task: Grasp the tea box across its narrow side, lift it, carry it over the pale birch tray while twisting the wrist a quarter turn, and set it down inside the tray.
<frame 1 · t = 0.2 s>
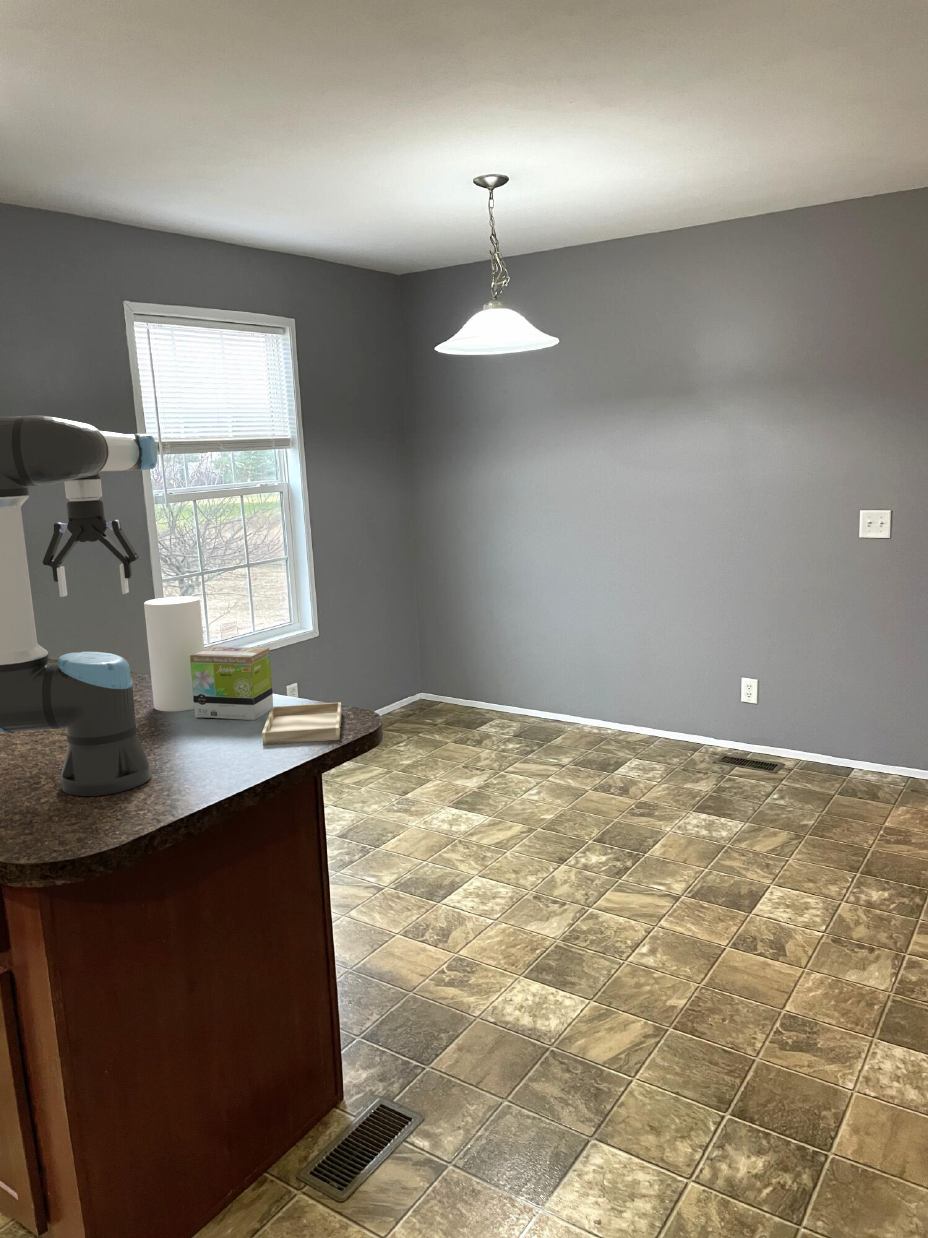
hand: (94, 594, 210), 28 cm above the countertop, fingers open, 13 cm apart
tray: (304, 728, 197), on the countertop
tea box: (235, 715, 211), on the countertop
cylinder: (181, 705, 221), on the countertop
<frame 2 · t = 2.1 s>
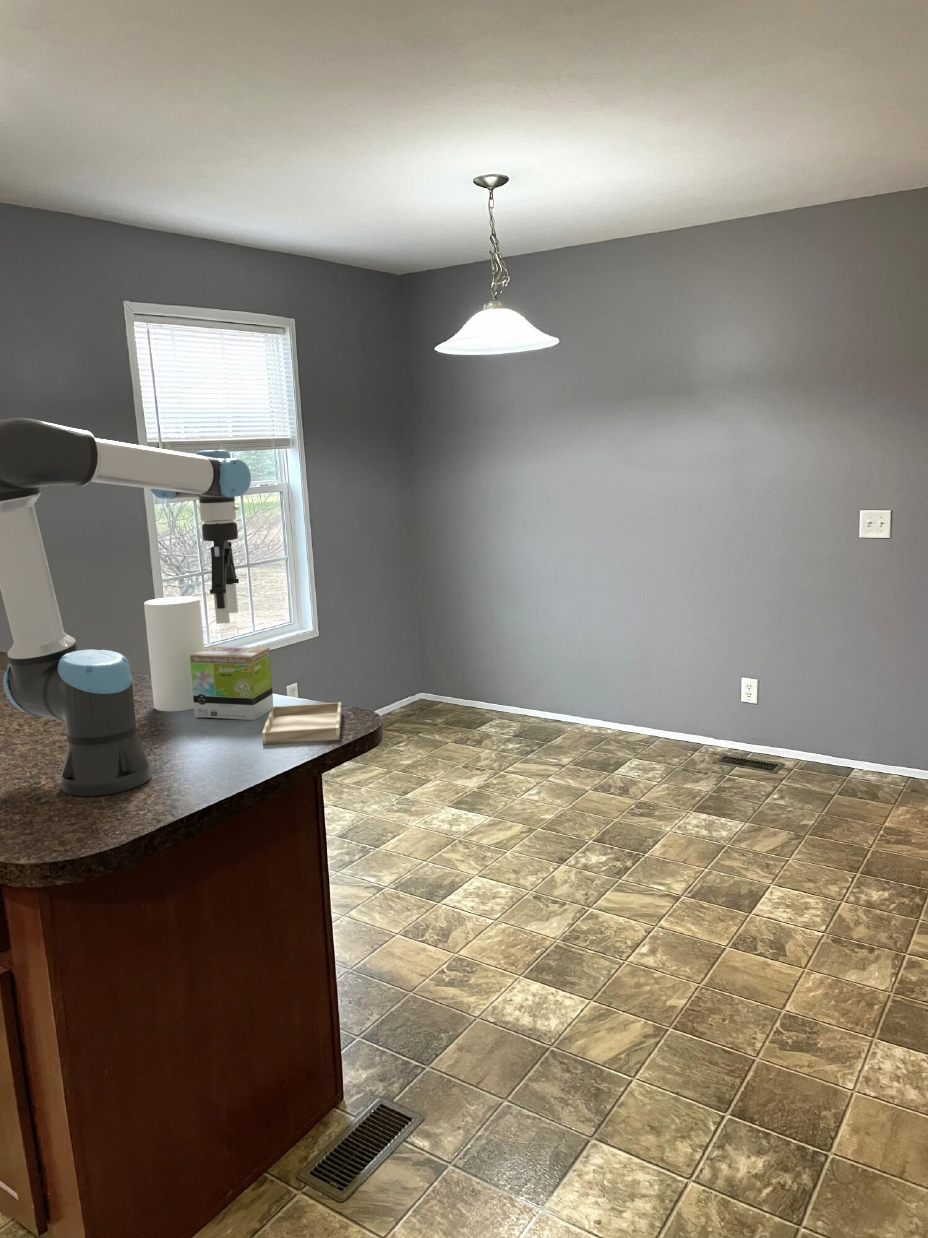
hand: (227, 617, 207), 22 cm above the countertop, fingers open, 13 cm apart
nothing on the countertop moved.
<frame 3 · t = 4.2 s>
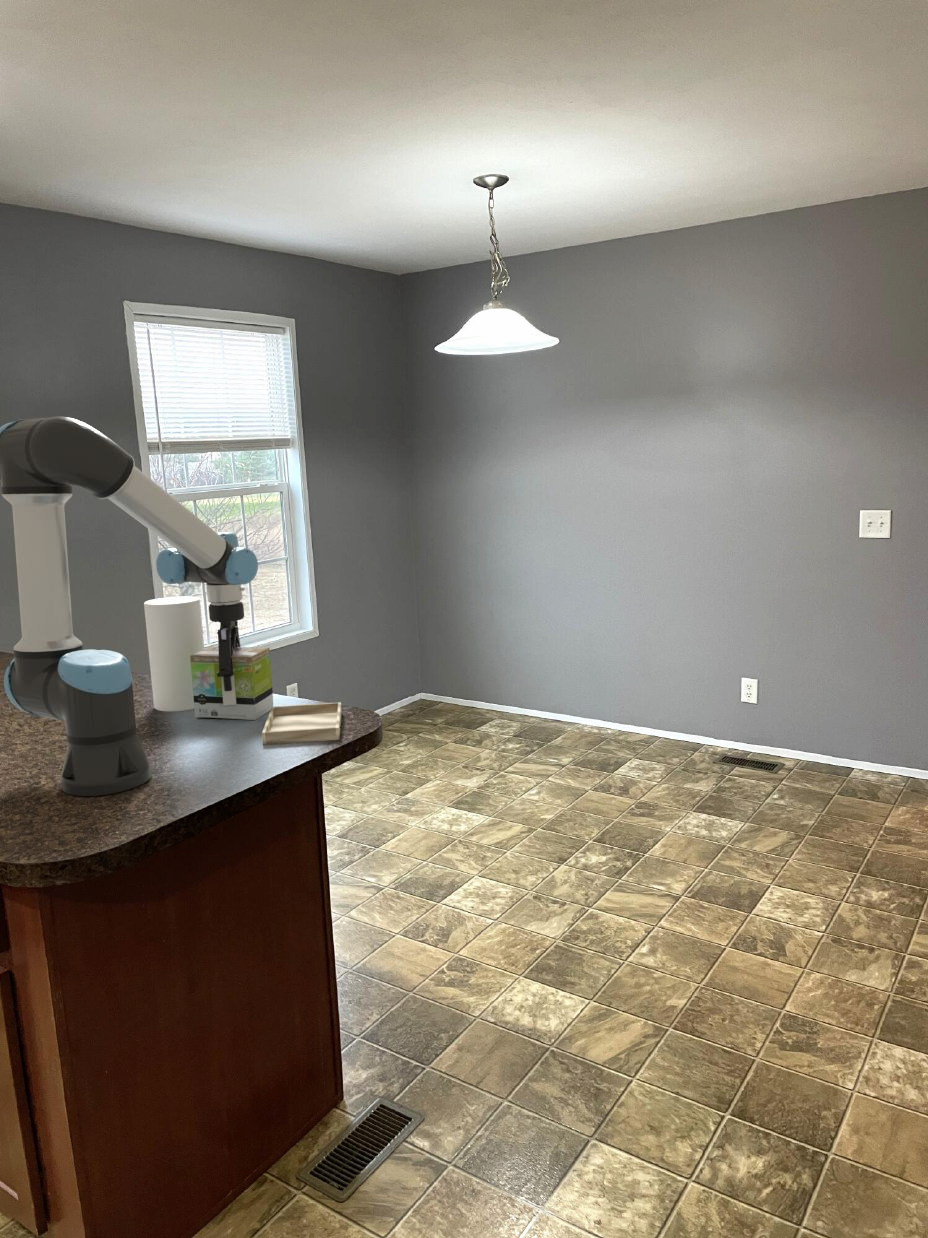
hand: (233, 697, 210), 4 cm above the countertop, fingers closed on tea box, 11 cm apart
tea box: (235, 714, 210), on the countertop, touching gripper
everything else where it was.
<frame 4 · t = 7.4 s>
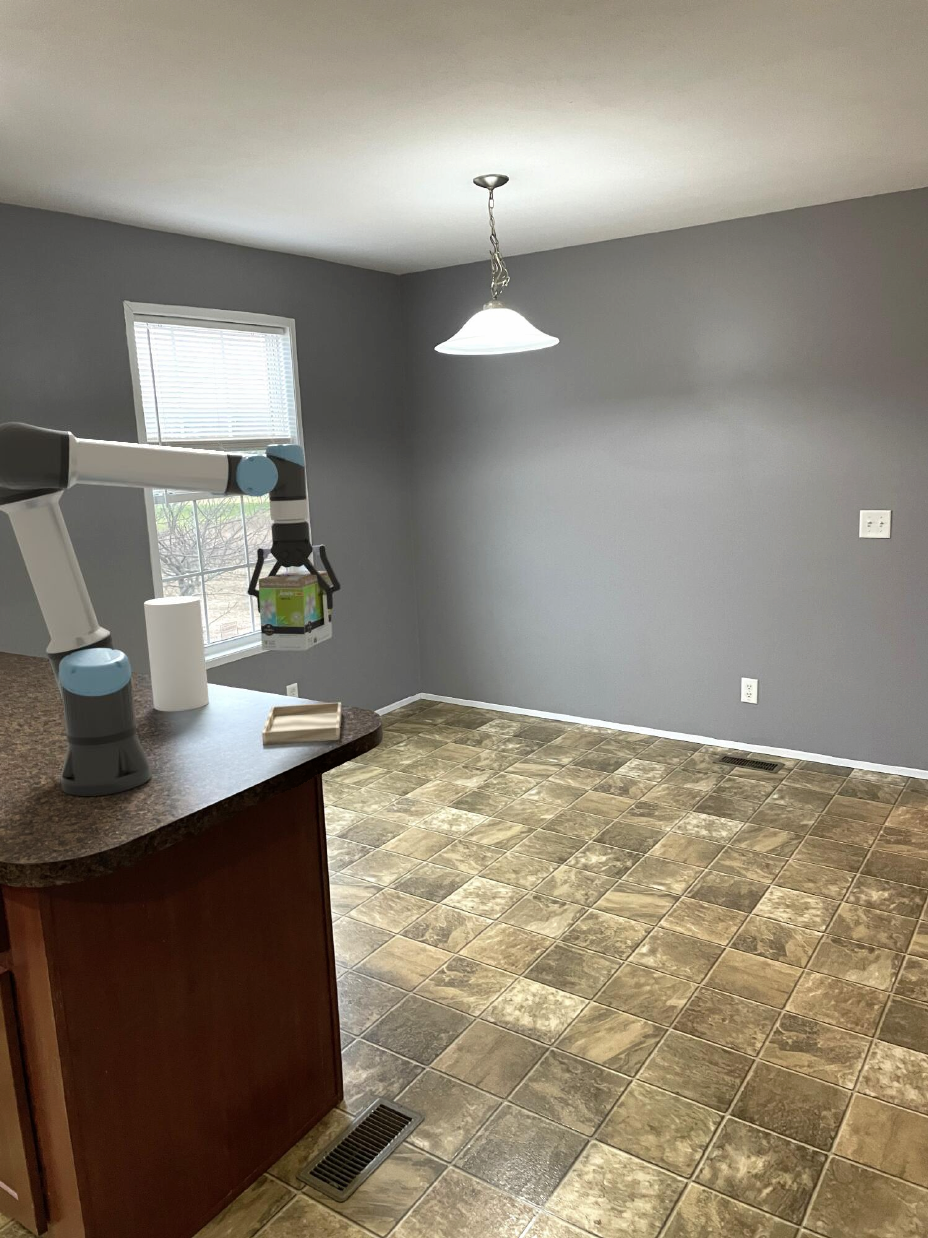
hand: (297, 626, 193), 22 cm above the countertop, fingers closed on tea box, 11 cm apart
tea box: (298, 645, 194), point 18 cm above the countertop, touching gripper
everything else where it was.
when the fingers open (6 cm above the countertop, at t = 10.8 s): tea box drops 2 cm, resting on tray.
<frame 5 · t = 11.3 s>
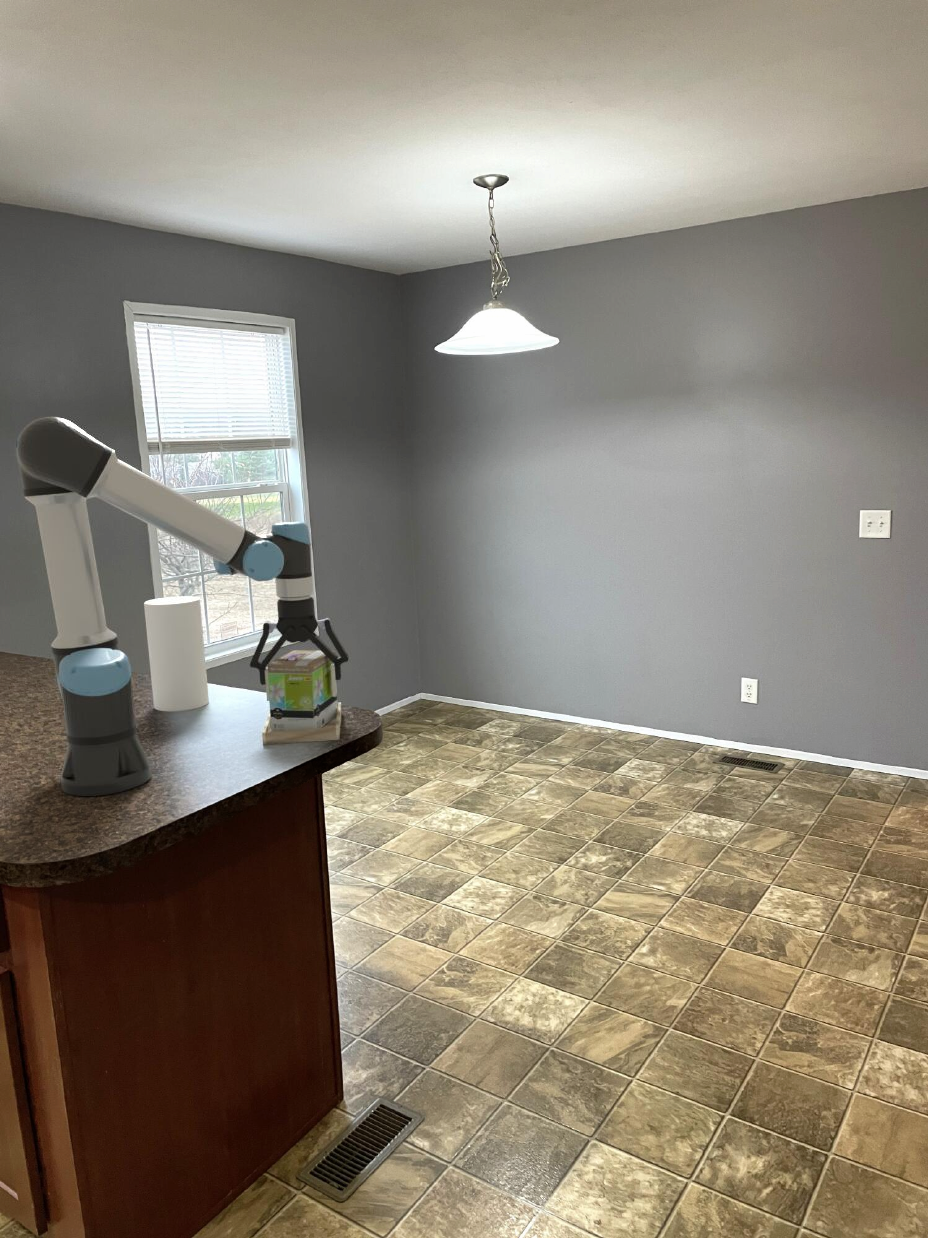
hand: (302, 697, 196), 7 cm above the countertop, fingers open, 13 cm apart
tea box: (306, 725, 197), point 1 cm above the countertop, touching tray
everything else where it was.
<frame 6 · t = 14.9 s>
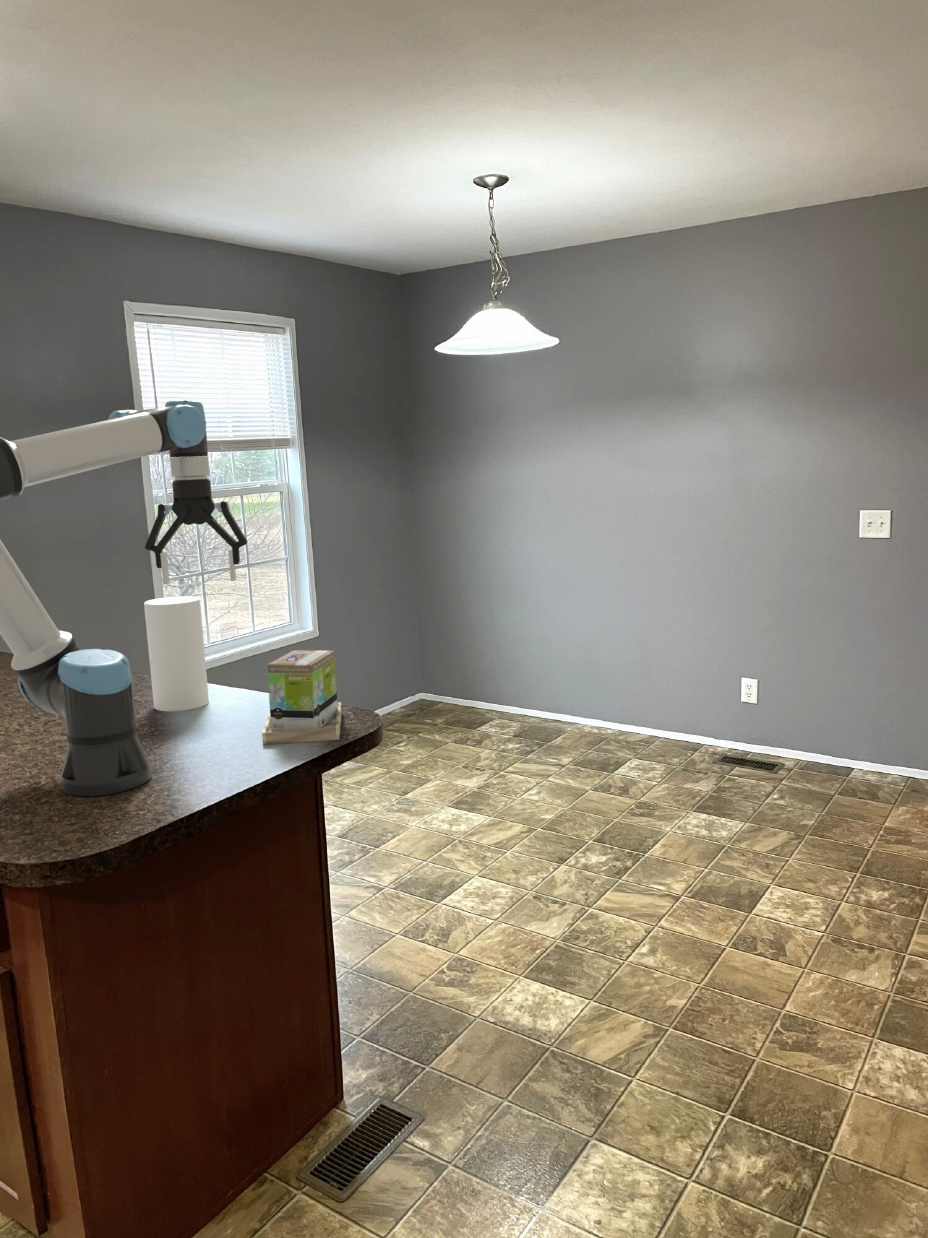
hand: (200, 582, 193), 32 cm above the countertop, fingers open, 13 cm apart
nothing on the countertop moved.
at the end: tea box inside the target area on the tray (0.4 cm from its centre), point 0.6 cm above the tray's base; tea box tilted 0°; the gripper is holding nothing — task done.
